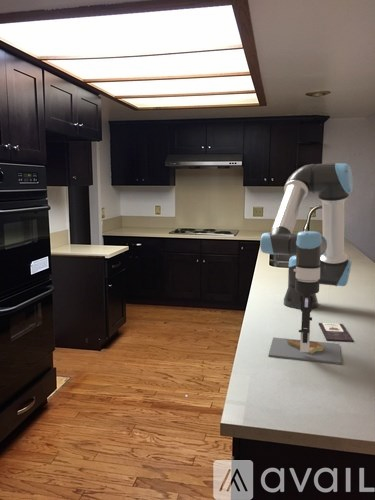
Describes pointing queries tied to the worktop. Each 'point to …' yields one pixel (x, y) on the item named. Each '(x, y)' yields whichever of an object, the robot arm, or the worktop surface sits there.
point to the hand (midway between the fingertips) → (304, 345)
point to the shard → (312, 345)
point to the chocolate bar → (335, 332)
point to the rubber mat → (291, 352)
